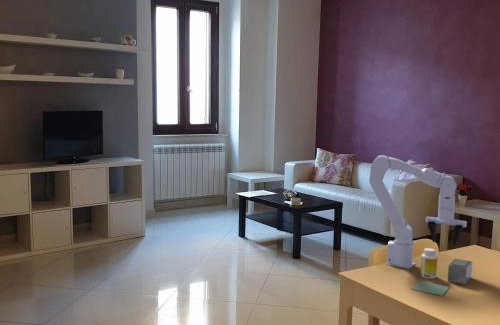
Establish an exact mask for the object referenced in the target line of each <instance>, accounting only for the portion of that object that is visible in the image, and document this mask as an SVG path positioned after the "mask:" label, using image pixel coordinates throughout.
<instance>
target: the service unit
mask: <svg viewBox="0 0 500 325" xmlns="http://www.w3.org/2000/svg"><path fill="white" fill-rule="evenodd" d="M472 272H473V261H471V260H466V259H460V258H454V259H453V260H452V261H451V262H450V263H449V264H448V273H447V282H449V283H452V282H453V283H452V284H458V285H463V286H466V285H467V284H468V283H469V282H470V280H471V279H472Z"/></svg>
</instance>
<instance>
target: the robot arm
mask: <svg viewBox="0 0 500 325" xmlns="http://www.w3.org/2000/svg"><path fill="white" fill-rule="evenodd" d="M389 169H390V171H391V172H392V171H397V170H398V171H402V172H404V173H407V174H410V175H412V176H414V177H415V176H416V177H418V179H419V181H420V182H422V183H424V184H426V185H428V186H431V187H434V188H436V189H437V188H439V195H438V204H437V205H438V207H437V216H426V217H425V221H424V222H425V223H427V229H429V232H430V235H431V240H432V243H435V242H436V241H437V226H438V224H439V225H447V226H454V228H453V236H454V237H453V246H456V245H458V244H457V243H458V240H459V237H460V235H461V233H462V232H463V229H464V228H467V222H468V221H466V220H459V219H456V218H455V206H456V196H455V195H456V190H457V187H458V185H457V183H456V180H455V179H454V177H452V176H451V175H449V174H446V173H445V172H443V173H441V172H439V171H437V170H434V168H433V167H429V168H428V167H424V168H420V167H417V166H416V165H412V164H410V163H408V162H406V161H403V160H401V159H399V158H397V157H396V158H395V157H391V156H388V155H385V154H380V155H377V157H375V159H373V161H372V163H371V164H370V172H369V179H368V180H369V185H370V187H371V189H372V191H373V192H374V194H375V195H376V198H377V199H378V201H379V203H380V205H381V207H382V209H383V210H384V212H385V215H387V218H388V219H389V222H390V223H391V226H392V229H393V230H394V233H395V238H394V240H389V241H388V243H387V246H386V262H385V265H389V266H393V267H399V268H403V269H409V270H410V269H412V267H414V266H415V265H416V262H413V258H414V255H413V254H414V241H413V238H414V236H413V234H414V229H413V226H411V225H410V224H408V223H407V222H406V220H405V218H404V217H403V216H402V214H401V212H400V211H399V208H398V206H397V205H396V203H395V200H393V197H392V195H391V194H390V192H389V191H388V188H387V187H386V185H385V183H384V181H383V180H384V178H385V174H387V171H389Z"/></svg>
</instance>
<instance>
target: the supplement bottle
mask: <svg viewBox="0 0 500 325" xmlns="http://www.w3.org/2000/svg"><path fill="white" fill-rule="evenodd" d="M437 270H438V255H437V254H436V249H434V248H432V247H425V248H424V249H423V253H422V254H421V258H420V269H419V271H420V272H419V275H420V277H421V278H424V279H427V280H432V279H436V278H437Z"/></svg>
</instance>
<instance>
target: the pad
mask: <svg viewBox="0 0 500 325" xmlns="http://www.w3.org/2000/svg"><path fill="white" fill-rule="evenodd" d="M449 289H450V286H447V285H443V284H436V283H432V282H427V281H423V280H420V281H418V282H417V283H416V284H415V285H414V286H413V287H412V288H411V290H414V291H418V292H422V293H426V294H431V295H436V296H441V297H443V296H444V295H445V294H446V293H447V291H448V290H449Z"/></svg>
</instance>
